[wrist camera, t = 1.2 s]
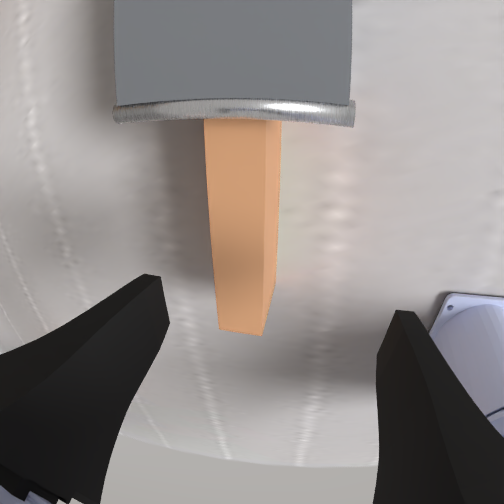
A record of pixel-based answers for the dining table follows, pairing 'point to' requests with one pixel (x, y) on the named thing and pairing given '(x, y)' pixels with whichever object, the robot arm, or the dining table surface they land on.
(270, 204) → the orange rectangular bar
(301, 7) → the grey plain boxy block
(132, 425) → the dining table surface
